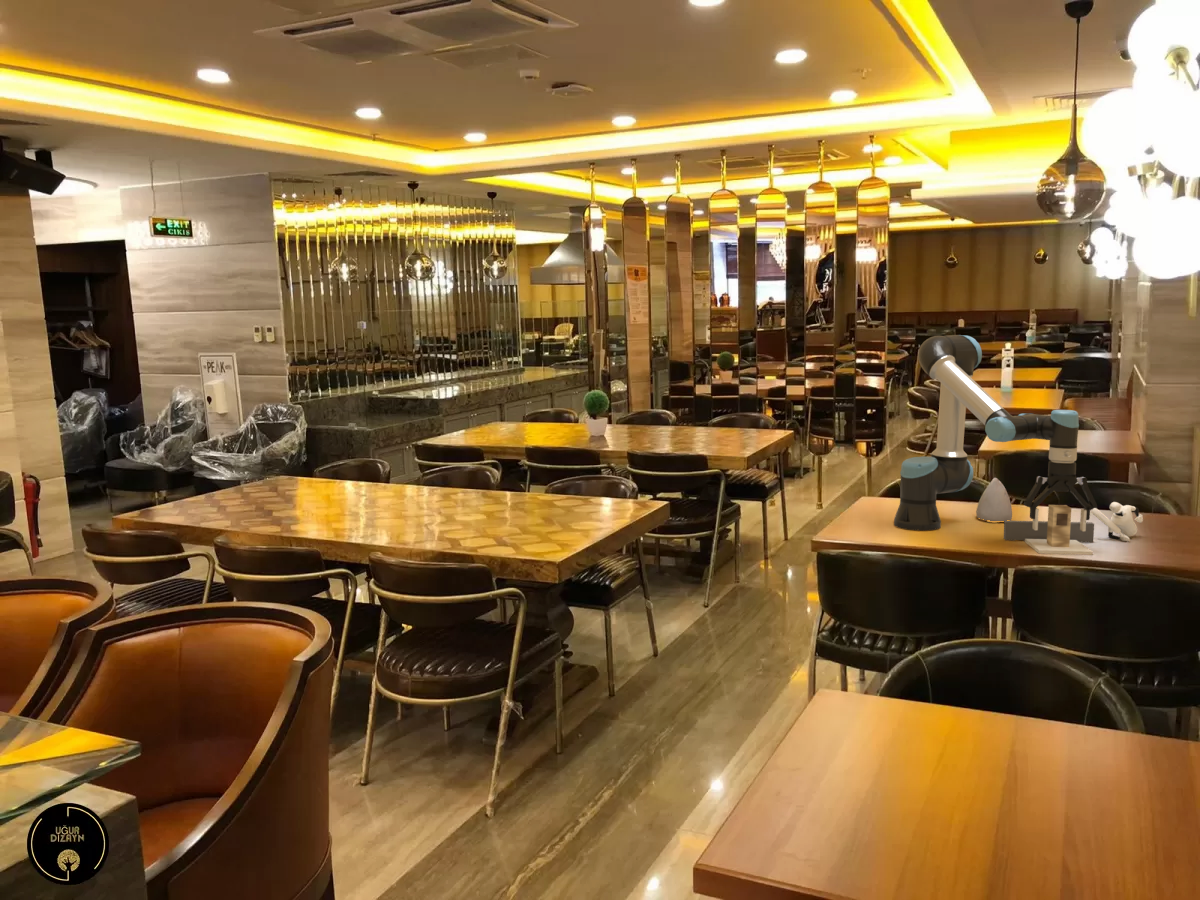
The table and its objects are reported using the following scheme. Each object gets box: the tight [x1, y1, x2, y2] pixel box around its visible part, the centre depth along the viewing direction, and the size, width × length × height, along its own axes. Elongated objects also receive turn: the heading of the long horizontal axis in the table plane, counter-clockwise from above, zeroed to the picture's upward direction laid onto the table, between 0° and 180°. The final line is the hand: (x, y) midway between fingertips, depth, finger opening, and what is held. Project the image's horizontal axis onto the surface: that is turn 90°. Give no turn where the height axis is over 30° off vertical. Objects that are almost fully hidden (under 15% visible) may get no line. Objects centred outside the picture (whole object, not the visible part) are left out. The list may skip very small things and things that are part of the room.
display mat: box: [1024, 539, 1094, 556], centre depth 279 cm, size 15×15×1 cm
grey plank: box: [1003, 520, 1095, 543], centre depth 288 cm, size 26×2×6 cm, turn 80°
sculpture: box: [975, 477, 1013, 521], centre depth 319 cm, size 13×12×15 cm
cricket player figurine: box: [1090, 501, 1144, 542], centre depth 288 cm, size 13×10×15 cm
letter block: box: [1047, 504, 1072, 547], centre depth 278 cm, size 5×5×12 cm
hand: (1058, 530), depth 278 cm, fingers open, 13 cm apart
